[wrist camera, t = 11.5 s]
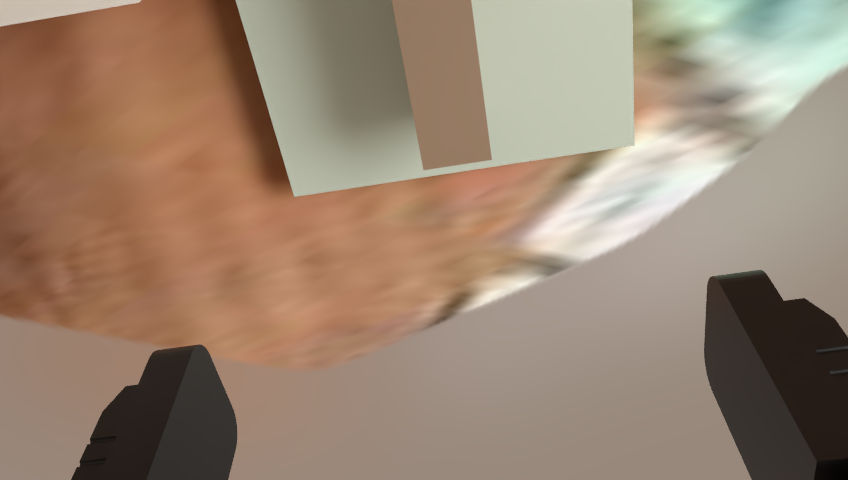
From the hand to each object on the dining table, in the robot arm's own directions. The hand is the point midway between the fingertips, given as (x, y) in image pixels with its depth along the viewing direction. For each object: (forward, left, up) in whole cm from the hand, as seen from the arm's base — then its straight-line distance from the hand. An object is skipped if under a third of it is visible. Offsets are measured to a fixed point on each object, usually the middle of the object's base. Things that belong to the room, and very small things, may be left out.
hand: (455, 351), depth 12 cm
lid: (0, 0, -22) cm, 22 cm away
